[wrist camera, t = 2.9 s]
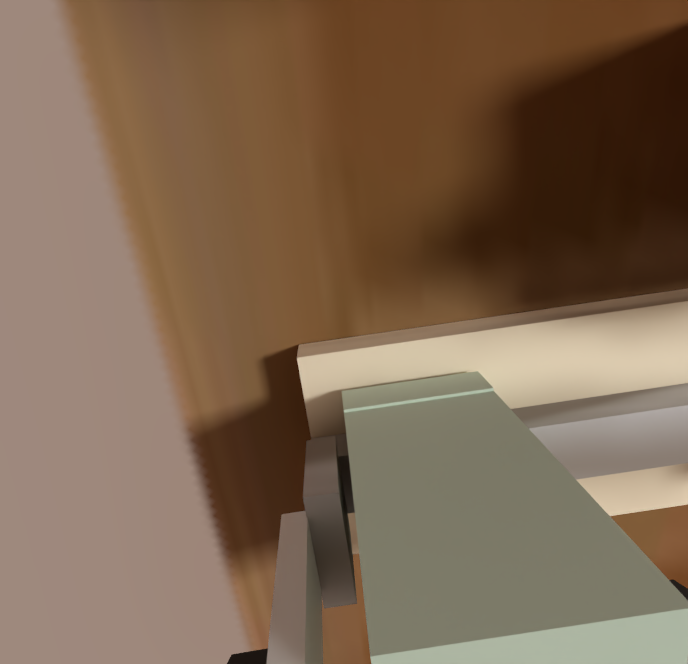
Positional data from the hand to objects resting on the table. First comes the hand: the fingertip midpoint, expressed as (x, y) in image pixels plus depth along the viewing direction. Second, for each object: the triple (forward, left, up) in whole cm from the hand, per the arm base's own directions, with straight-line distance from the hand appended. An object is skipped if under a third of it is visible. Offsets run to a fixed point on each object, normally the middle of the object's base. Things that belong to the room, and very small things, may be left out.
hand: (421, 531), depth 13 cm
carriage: (0, +1, -4) cm, 4 cm away
